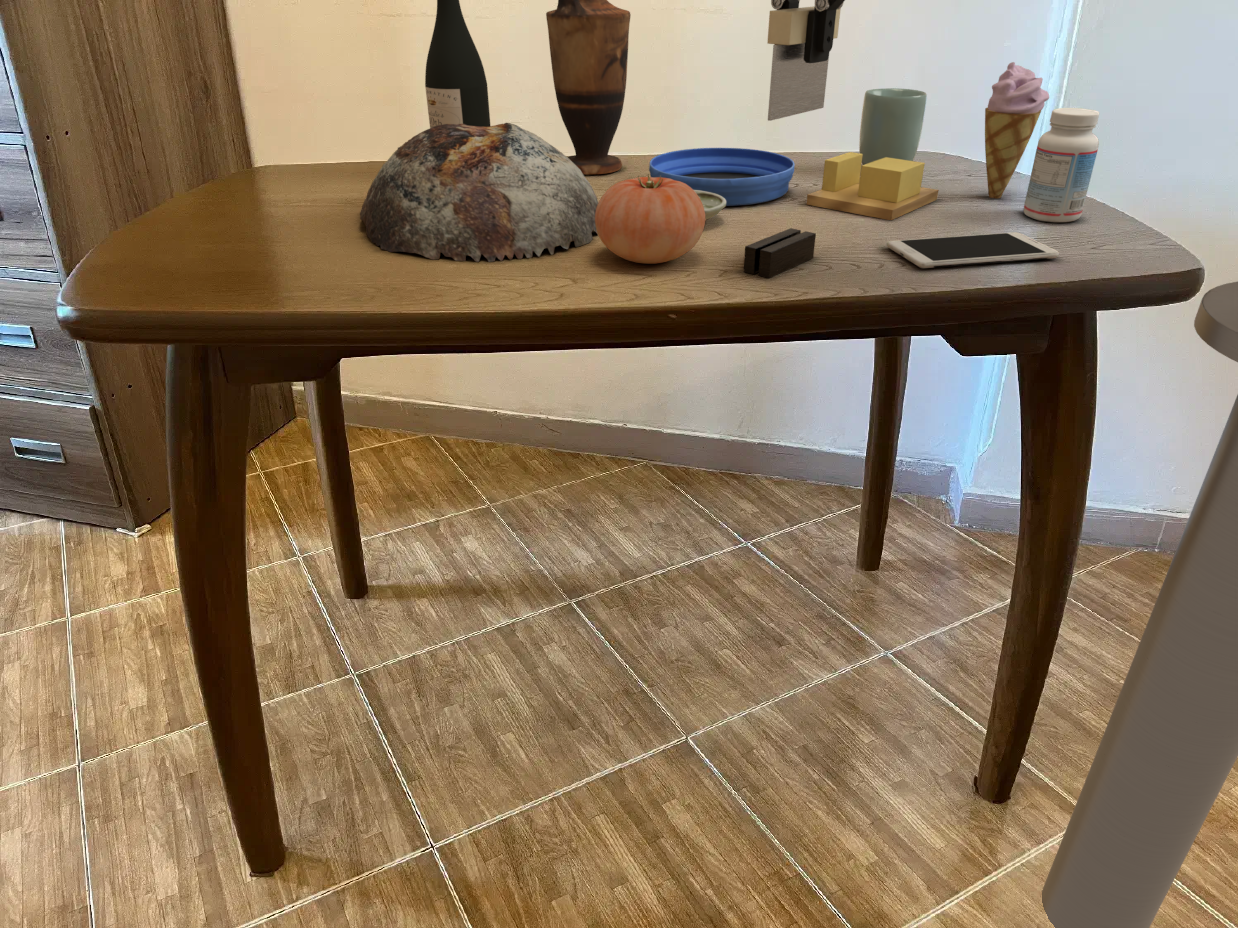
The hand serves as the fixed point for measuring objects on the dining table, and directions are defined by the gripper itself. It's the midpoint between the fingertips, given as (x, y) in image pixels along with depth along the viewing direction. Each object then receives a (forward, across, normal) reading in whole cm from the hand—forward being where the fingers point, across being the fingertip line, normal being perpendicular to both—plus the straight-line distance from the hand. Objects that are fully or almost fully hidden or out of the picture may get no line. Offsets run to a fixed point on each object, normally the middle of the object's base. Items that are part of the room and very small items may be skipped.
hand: (801, 58), depth 77 cm
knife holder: (+18, 0, -2) cm, 18 cm away
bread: (+18, -34, -9) cm, 40 cm away
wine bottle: (+18, -54, +4) cm, 57 cm away
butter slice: (+17, -8, +26) cm, 32 cm away
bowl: (+18, -22, +19) cm, 34 cm away
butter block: (+17, -2, +26) cm, 31 cm away
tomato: (+18, -10, -8) cm, 23 cm away
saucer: (+18, -16, +5) cm, 25 cm away
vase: (+18, -43, +18) cm, 50 cm away
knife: (+5, 0, 0) cm, 5 cm away
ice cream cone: (+18, +6, +38) cm, 43 cm away
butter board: (+18, -4, +26) cm, 32 cm away
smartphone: (+18, +13, +14) cm, 26 cm away
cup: (+18, -11, +42) cm, 47 cm away
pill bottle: (+18, +14, +33) cm, 40 cm away
